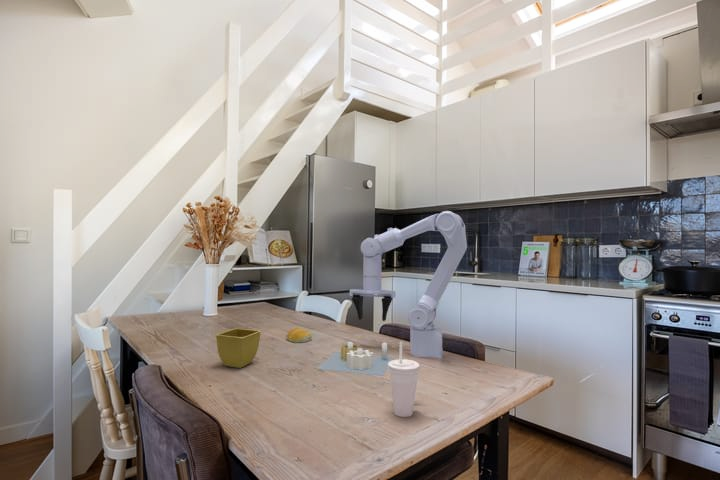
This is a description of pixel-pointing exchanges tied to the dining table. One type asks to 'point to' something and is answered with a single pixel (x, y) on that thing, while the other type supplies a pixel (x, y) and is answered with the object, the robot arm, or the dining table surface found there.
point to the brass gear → (346, 350)
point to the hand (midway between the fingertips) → (372, 319)
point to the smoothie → (403, 384)
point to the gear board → (377, 369)
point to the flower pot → (238, 346)
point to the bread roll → (298, 336)
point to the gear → (360, 360)
